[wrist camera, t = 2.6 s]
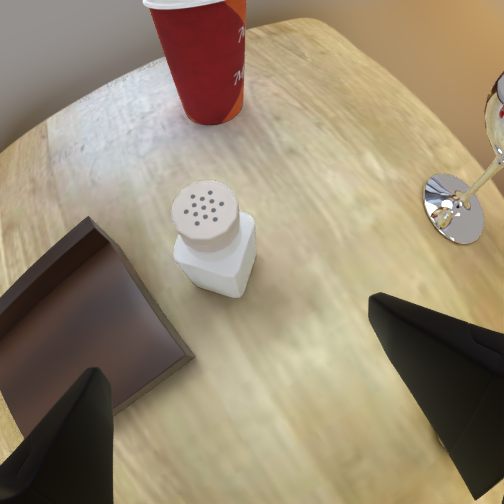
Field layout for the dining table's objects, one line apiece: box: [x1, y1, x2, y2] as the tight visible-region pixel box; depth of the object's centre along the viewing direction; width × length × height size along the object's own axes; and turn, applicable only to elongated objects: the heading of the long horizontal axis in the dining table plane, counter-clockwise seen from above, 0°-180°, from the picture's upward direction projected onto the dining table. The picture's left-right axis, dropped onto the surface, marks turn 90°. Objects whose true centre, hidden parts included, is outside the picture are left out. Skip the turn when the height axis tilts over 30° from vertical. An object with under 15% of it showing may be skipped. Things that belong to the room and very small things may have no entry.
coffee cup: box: [143, 0, 246, 125], centre depth 22 cm, size 8×8×15 cm
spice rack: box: [0, 216, 195, 439], centre depth 18 cm, size 11×16×6 cm
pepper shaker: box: [171, 180, 256, 298], centre depth 19 cm, size 4×4×10 cm
